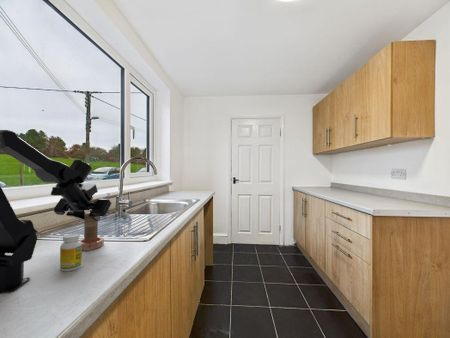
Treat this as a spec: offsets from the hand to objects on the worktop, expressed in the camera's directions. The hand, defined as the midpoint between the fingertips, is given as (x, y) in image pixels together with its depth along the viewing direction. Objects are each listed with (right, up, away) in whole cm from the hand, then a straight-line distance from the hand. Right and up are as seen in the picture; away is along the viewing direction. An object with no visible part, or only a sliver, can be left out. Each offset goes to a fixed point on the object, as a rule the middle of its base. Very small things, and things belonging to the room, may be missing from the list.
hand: (93, 219), depth 91 cm
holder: (0, -10, -1) cm, 10 cm away
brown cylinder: (0, -7, -1) cm, 7 cm away
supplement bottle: (+5, -10, -21) cm, 23 cm away
